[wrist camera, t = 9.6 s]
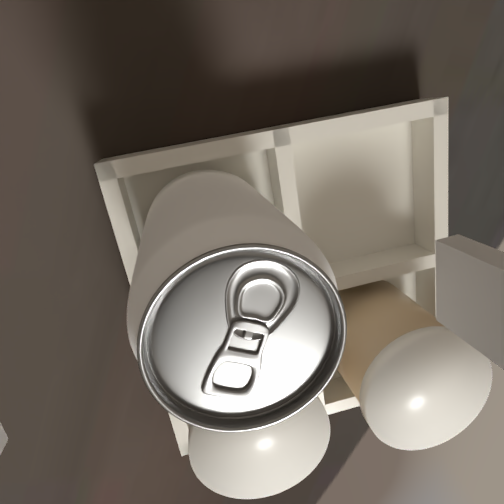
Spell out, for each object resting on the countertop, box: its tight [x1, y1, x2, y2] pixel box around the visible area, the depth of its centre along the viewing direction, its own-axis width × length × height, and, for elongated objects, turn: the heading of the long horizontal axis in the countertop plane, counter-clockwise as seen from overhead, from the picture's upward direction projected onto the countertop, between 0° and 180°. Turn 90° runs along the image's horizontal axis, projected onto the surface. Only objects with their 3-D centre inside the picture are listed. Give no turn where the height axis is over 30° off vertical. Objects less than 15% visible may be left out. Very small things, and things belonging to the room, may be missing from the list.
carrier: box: [94, 97, 448, 456], centre depth 23 cm, size 17×17×2 cm
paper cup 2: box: [337, 280, 492, 450], centre depth 22 cm, size 6×6×7 cm
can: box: [127, 170, 347, 433], centre depth 16 cm, size 6×6×12 cm
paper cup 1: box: [188, 396, 330, 499], centre depth 21 cm, size 6×6×7 cm
